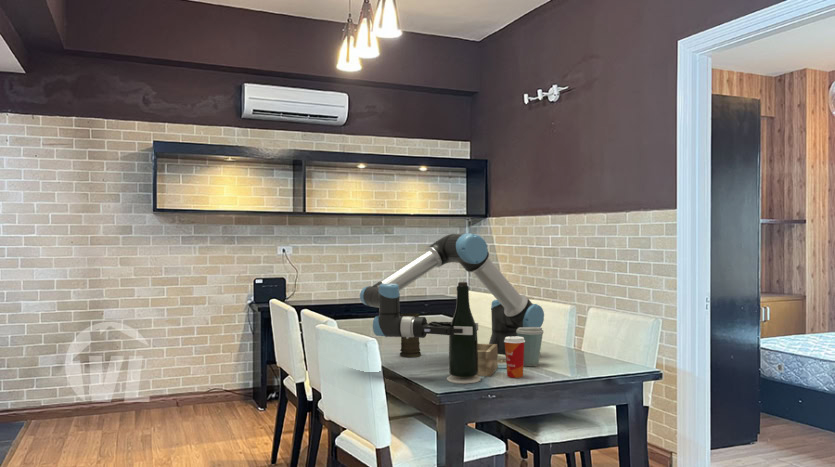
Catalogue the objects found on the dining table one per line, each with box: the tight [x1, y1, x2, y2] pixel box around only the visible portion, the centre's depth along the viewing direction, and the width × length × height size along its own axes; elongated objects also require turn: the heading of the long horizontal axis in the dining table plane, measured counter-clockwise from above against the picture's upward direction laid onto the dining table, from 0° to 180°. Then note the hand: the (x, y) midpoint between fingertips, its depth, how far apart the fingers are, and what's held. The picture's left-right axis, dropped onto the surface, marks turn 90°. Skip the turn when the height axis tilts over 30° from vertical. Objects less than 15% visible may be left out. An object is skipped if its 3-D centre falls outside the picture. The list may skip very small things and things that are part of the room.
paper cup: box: [504, 336, 525, 379], centre depth 232 cm, size 8×8×14 cm
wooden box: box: [476, 343, 499, 377], centre depth 242 cm, size 15×16×9 cm
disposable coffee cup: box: [516, 327, 544, 367], centre depth 252 cm, size 11×11×15 cm
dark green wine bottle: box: [448, 281, 479, 377], centre depth 228 cm, size 10×10×33 cm
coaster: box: [446, 375, 482, 385], centre depth 228 cm, size 12×12×1 cm
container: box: [399, 312, 422, 358], centre depth 275 cm, size 9×9×18 cm
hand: (475, 328), depth 227 cm, fingers closed on dark green wine bottle, 9 cm apart
